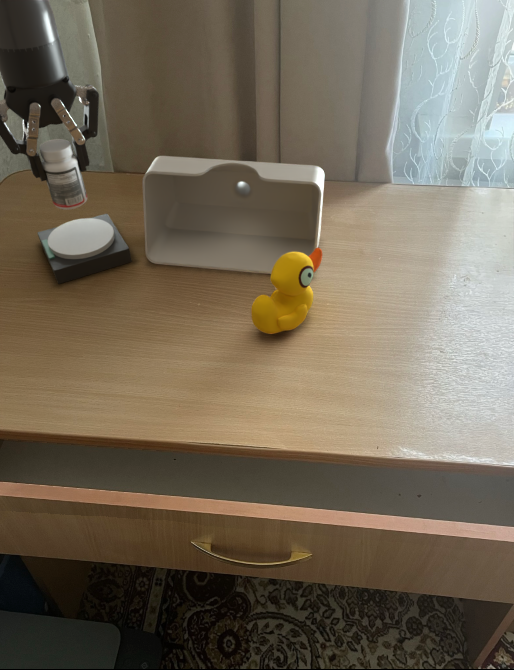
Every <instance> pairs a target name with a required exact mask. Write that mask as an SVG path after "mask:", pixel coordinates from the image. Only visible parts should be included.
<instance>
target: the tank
mask: <svg viewBox="0 0 514 670" xmlns="http://www.w3.org/2000/svg"><path fill="white" fill-rule="evenodd" d="M324 188H325V172H324V170H323V168H321V167H320V166H318V165H314V164H313V165H312V164H298V163H297V164H295V163H282V162H266V161H251V160H250V161H249V160H235V159H234V160H233V159H220V158H219V159H217V158H201V157H187V156H171V155H170V156H169V155H159V156H157V157H155V158H154V159H153V161H152V162H151V164H150V166H149V167H148V169H147V170H146V172H145V173H144V175H143V177H142V201H143V202H142V203H143V225H144V226H143V227H144V249H145V250H144V251H145V256H146V258H147V260H148V261H149V262H150V263H152V264H155V265H166V266H177V267H186V268H187V267H188V268H197V269H198V268H199V269H212V270H221V271H231V272H245V273H255V274H265V275H271V272H272V269H273V267H274V265H275V263H276V261H277V260H278V259H279V258H280V257H281V256H282V255H284V254H286V253H288V252H301V253H304V254H306V255H307V256H309V255H311V254H312V253H313V251H314V250H315V249H316V248H319V244H320V238H321V230H322V229H321V228H322V227H321V226H322V215H323V201H324Z"/></svg>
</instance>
